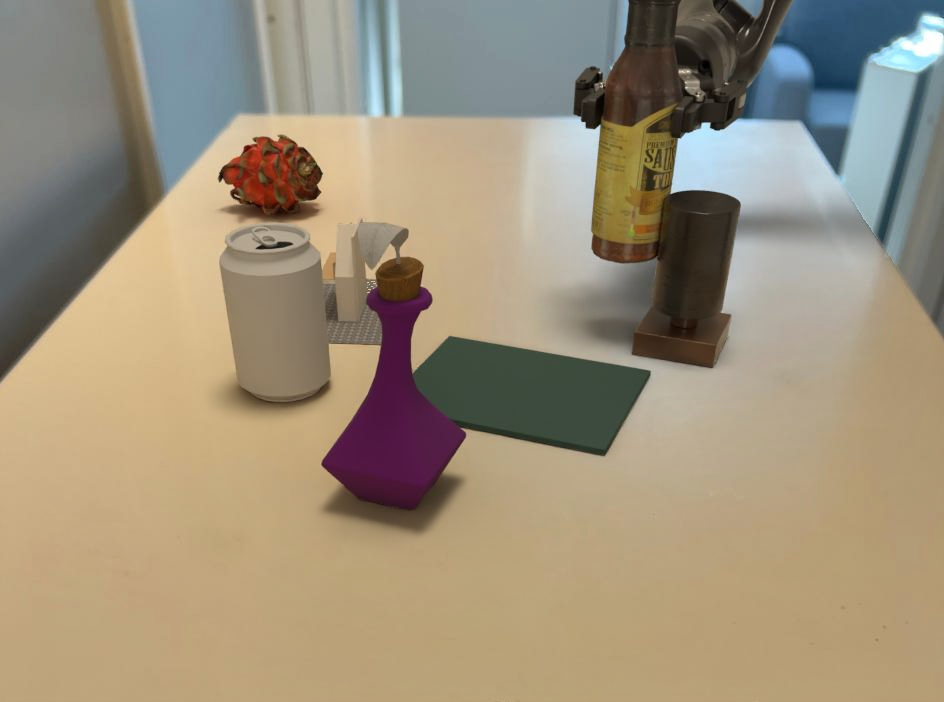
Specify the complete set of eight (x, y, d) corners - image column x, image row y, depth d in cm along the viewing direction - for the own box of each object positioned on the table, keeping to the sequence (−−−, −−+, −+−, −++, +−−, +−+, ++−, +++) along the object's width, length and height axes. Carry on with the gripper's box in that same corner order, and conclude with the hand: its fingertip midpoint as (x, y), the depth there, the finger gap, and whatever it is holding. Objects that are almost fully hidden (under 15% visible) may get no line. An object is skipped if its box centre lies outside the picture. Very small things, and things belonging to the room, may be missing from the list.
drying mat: (650, 375, 82) (651, 370, 82) (604, 455, 72) (605, 449, 72) (449, 340, 87) (449, 335, 87) (380, 410, 77) (380, 405, 77)
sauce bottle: (644, 273, 81) (677, -14, 68) (576, 258, 84) (596, -21, 71) (675, 248, 86) (712, -26, 73) (609, 235, 88) (634, -32, 75)
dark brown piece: (727, 335, 88) (754, 194, 80) (712, 367, 83) (739, 220, 75) (650, 323, 90) (669, 183, 82) (631, 354, 85) (649, 208, 77)
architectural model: (321, 320, 90) (313, 237, 85) (333, 291, 95) (326, 211, 90) (358, 321, 90) (353, 237, 85) (368, 292, 95) (364, 212, 90)
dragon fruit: (333, 229, 113) (234, 240, 115) (335, 165, 115) (238, 177, 117) (309, 178, 105) (203, 192, 107) (312, 111, 107) (208, 125, 109)
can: (262, 415, 76) (240, 258, 68) (224, 378, 81) (199, 228, 73) (348, 391, 79) (336, 238, 72) (306, 357, 84) (291, 210, 76)
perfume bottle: (371, 454, 72) (355, 194, 60) (467, 474, 70) (470, 209, 58) (323, 506, 67) (295, 232, 55) (425, 530, 65) (419, 250, 53)
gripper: (606, 18, 87) (547, 56, 75) (772, 31, 83) (736, 72, 71) (599, 112, 92) (541, 161, 80) (755, 128, 88) (718, 182, 76)
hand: (633, 119), depth 76 cm, fingers closed on sauce bottle, 6 cm apart
